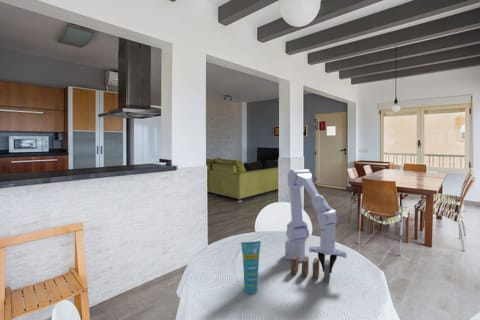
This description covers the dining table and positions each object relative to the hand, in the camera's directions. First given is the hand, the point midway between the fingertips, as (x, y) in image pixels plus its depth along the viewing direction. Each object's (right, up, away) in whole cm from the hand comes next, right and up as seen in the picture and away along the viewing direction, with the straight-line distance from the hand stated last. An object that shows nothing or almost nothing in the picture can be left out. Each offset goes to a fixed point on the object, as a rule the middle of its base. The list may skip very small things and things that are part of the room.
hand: (327, 271), depth 105 cm
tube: (-32, -4, -8) cm, 33 cm away
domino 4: (0, -3, 0) cm, 3 cm away
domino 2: (-8, -3, +4) cm, 10 cm away
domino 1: (-12, -3, +6) cm, 14 cm away
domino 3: (-4, -3, +2) cm, 6 cm away
